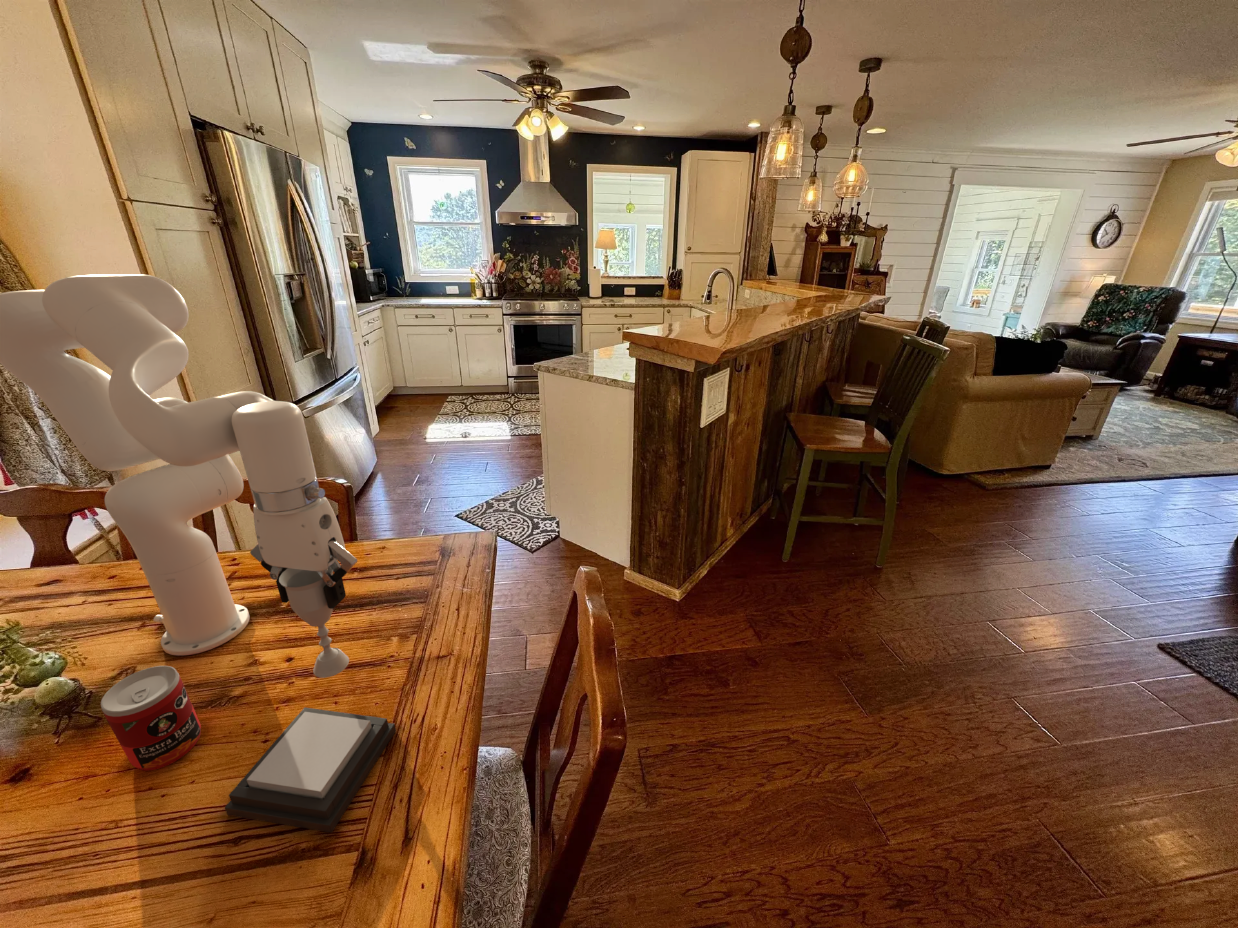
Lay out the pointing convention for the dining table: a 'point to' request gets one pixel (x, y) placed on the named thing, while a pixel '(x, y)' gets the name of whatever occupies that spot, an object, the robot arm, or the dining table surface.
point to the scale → (310, 809)
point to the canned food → (152, 717)
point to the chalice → (314, 615)
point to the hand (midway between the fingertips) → (314, 598)
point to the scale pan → (310, 755)
